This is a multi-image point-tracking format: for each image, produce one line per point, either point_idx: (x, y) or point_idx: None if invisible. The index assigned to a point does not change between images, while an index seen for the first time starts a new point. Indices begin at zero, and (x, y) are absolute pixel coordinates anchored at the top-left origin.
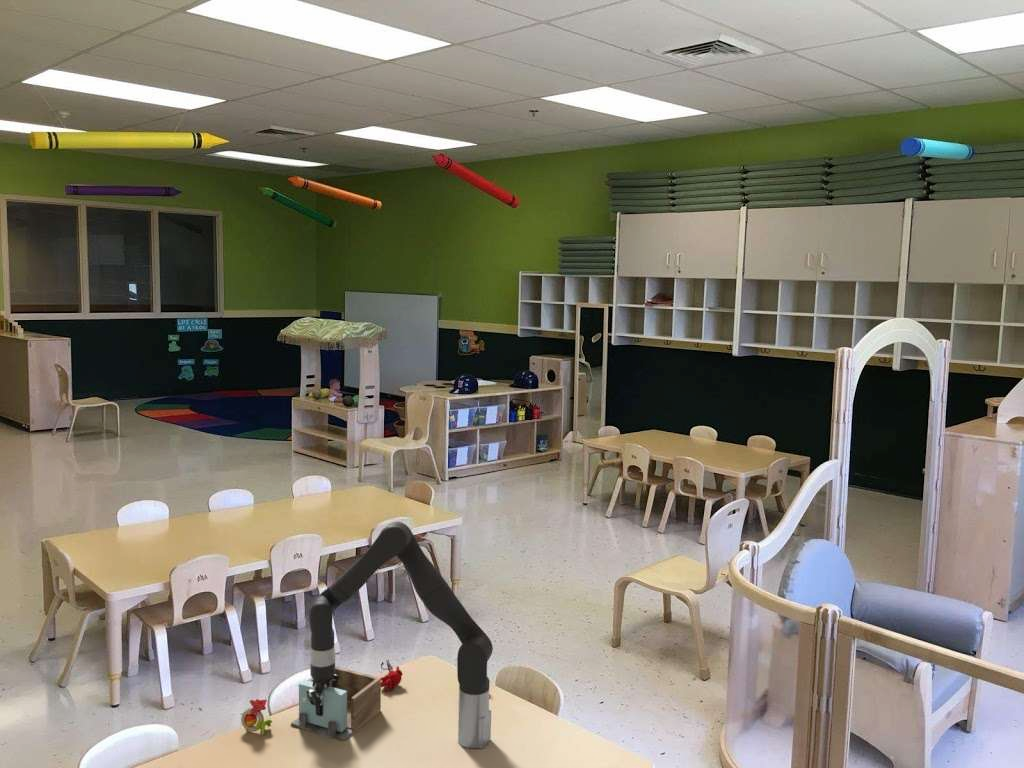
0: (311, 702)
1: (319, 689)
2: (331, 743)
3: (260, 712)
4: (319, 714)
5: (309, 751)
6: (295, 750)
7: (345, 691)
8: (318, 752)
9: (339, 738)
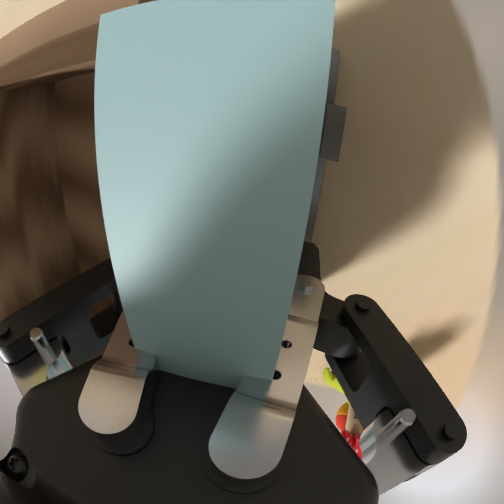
0: (366, 359)
1: (338, 442)
2: (376, 104)
3: (355, 428)
4: (316, 247)
5: (454, 179)
6: (452, 236)
7: (126, 21)
8: (454, 138)
9: (335, 77)
